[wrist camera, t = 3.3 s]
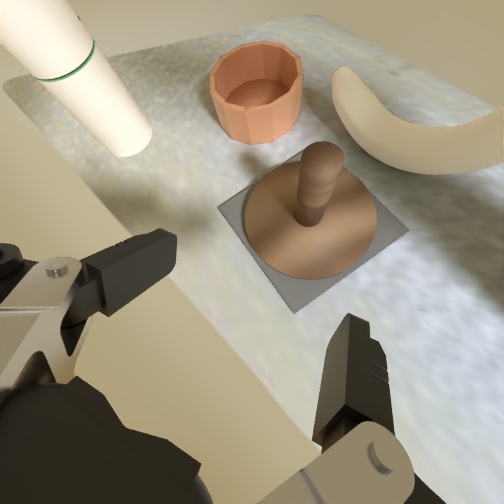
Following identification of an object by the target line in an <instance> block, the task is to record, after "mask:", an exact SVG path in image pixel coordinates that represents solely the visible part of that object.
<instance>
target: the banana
mask: <svg viewBox="0 0 504 504" xmlns="http://www.w3.org/2000/svg"><path fill="white" fill-rule="evenodd" d="M331 91H332V98H333V102H334V106H335V108H336V111H337V113H338V115H339V117H340V119H341V121H342V123H343V124H344V126H345V128H346V129H347V131H348V132H349V134H350V135H351V136H352V138H353V139H354V140H355V141H356V142H357V144H358V145H359V146H360V147H361V148H362V149H364V150H365V151H366V152H367V153H368V154H370V155H371V156H373V157H374V158H376V159H378V160H379V161H381V162H383V163H385V164H387V165H389V166H392V167H394V168H397V169H400V170H404V171H408V172H413V173H420V174H428V175H438V174H451V175H452V174H461V173H467V172H473V171H477V170H481V169H485V168H488V167H491V166H494V165H498V164H500V163H502V162H504V105H503V106H501V107H500V108H498V109H497V110H495V111H493V112H492V113H490V114H488V115H486V116H484V117H482V118H480V119H478V120H476V121H473V122H471V123H468V124H464V125H460V126H454V127H444V128H438V127H427V126H421V125H417V124H413V123H410V122H407V121H404V120H402V119H400V118H398V117H396V116H395V115H393V114H392V113H390V112H389V111H388V110H387V109H385V108H384V107H383V105H382V103H381V102H380V100H379V99H378V98H377V97H376V96H375V95H374V94H373V93H372V92H371V90H370V89H369V88H368V87H367V86H366V85H365V84H364V83H363V82H362V81H361V80H360V78H359V77H358V76H357V75H356V74H355V73H353V72H352V71H351V70H350V69H349V68H347V67H345V65H344V66H342V67H340V68H338V69H337V70H336V72H335V73H334V74H333V78H332V84H331Z"/></svg>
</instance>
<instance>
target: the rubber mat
mask: <svg viewBox="0 0 504 504" xmlns="http://www.w3.org/2000/svg"><path fill="white" fill-rule="evenodd" d="M302 153H303V152H301V153H300V154H298V155H297V156H295V157H294V158H292V159H291V160H289V161H288V162H286V163H285V164H283V165H286V164H289V163H292V162H297V161H301V156H302ZM283 165H282V166H283ZM280 167H281V166H280ZM342 168H344V169H346V168H345V167H344V166H342ZM346 170H347V169H346ZM347 171H348V170H347ZM262 179H263V178H262ZM262 179H261V180H262ZM261 180H259V181H258V182H256V183H255V184H253V185H252V186H250V187H249V188H247V189H246V190H244V191H243V192H241V193H240V194H238V195H237V196H235V197H234V198H232V199H231V200H229V201H228V202H226V203H225V204H223V205H222V206H220V207H219V210H220V211H221V213H222V214H223V215H224V217H225V218H226V220H227V221H228V222H229V224H230V225H231V227H232V228H233V229H234V231H235V232H236V234H237V235H238V236H239V238H240V239H241V241H242V242H243V243H244V245H245V246H246V247H247V249H248V250H249V252H250V253H251V254H252V256H253V257H254V259H255V260H256V261H257V263H258V264H259V266H260V267H261V268H262V270H263V271H264V273H265V274H266V275H267V277H268V278H269V280H270V281H271V282H272V284H273V285H274V286H275V288H276V289H277V291H278V292H279V293H280V295H281V296H282V298H283V299H284V300H285V302H286V303H287V305H288V306H289V307H290V309H291V310H292V312H293V313H294V314H295V313H296V312H298V311H299V310H300V309H302V308H303V307H304V306H306V305H307V304H309V303H310V302H311V301H313V300H314V299H316V298H317V297H318V296H320V295H321V294H322V293H324V292H325V291H327V290H328V289H329V288H331V287H332V286H334V285H335V284H336V283H338V282H339V281H340V280H342V279H343V278H345V277H346V276H347V275H349V274H350V273H352V272H353V271H354V270H356V269H357V268H358V267H360V266H361V265H363V264H364V263H365V262H367V261H368V260H369V259H371V258H372V257H374V256H375V255H376V254H378V253H379V252H381V251H382V250H383V249H385V248H386V247H387V246H389V245H390V244H392V243H393V242H394V241H396V240H397V239H399V238H400V237H401V236H403V235H404V234H405V233H407V232H408V231H410V230H409V229H408V228H407V227H406V226H405V225H404V224H403V223H402V222H400V221H399V220H398V219H397V218H396V217H395V216H394V215H393V214H392V213H391V212H390V211H389V210H388V209H387V208H386V207H385V206H384V205H383V204H382V203H381V202H380V201H379V200H378V199H377V198H376V197H375V196H374V195H373V194H372V193H371V192H369V193H370V195H371V197H372V199H373V201H374V204H375V208H376V214H377V225H376V232H375V235H374V239H373V241H372V243H371V245H370V247H369V248H368V250H367V251H366V253H365V254H364V255H363V256H362V257H361V258H360V260H358V261H357V262H356V263H355V264H354V265H352V266H351V267H350V268H348V269H347V270H345V271H343V272H341V273H339V274H337V275H335V276H331V277H328V278H323V279H316V280H306V279H298V278H293V277H290V276H287V275H284V274H282V273H280V272H278V271H276V270H274V269H273V268H271V267H270V266H268V265H267V264H266V263H265V262H264V261H263V260H262V259H261V258H260V257H259V256H258V254H257V253H256V252H255V250H254V248H253V247H252V245H251V242H250V240H249V238H248V235H247V231H246V226H245V211H246V206H247V202H248V199H249V197H250V195H251V193H252V191H253V190H254V188H255V187H256V185H257V184H258V183H259V182H260V181H261Z"/></svg>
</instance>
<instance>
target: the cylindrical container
mask: <svg viewBox="0 0 504 504" xmlns="http://www.w3.org/2000/svg"><path fill="white" fill-rule="evenodd" d="M0 44H1V45H2V46H3V47H4V48H5V49H6V50H7V51H8V52H9V53H10V54H11V55H12V56H13V57H14V58H15V59H16V60H17V61H18V62H19V63H20V64H21V65H22V66H23V67H24V68H25V69H26V70H27V71H28V72H29V73H30V74H31V75H32V76H33V77H34V78H35V79H36V80H37V81H38V82H39V83H40V84H41V85H42V86H43V87H44V88H45V89H46V90H47V91H48V92H49V93H50V94H51V95H53V96H54V97H55V98H56V99H57V100H58V101H59V102H60V103H61V104H62V105H63V106H64V107H65V108H66V109H67V110H68V111H69V112H70V113H71V114H72V115H73V116H74V117H75V118H76V119H77V120H78V121H79V122H80V123H81V124H82V125H83V126H84V127H85V128H86V129H87V130H88V131H89V132H90V133H91V134H92V135H93V136H94V137H95V138H96V139H97V140H98V141H99V142H100V143H101V144H102V145H103V146H104V147H105V148H106V149H107V150H108V151H109V152H110V153H112V154H113V155H115V156H119V157H127V156H131V155H134V154H136V153H138V152H140V151H141V150H142V149H143V148H144V147H146V145H147V144H148V143H149V141H150V139H151V136H152V127H151V125H150V123H149V122H148V120H147V119H146V117H145V116H144V114H143V113H142V111H141V110H140V108H139V107H138V105H137V104H136V102H135V101H134V99H133V98H132V96H131V95H130V93H129V92H128V90H127V89H126V87H125V86H124V84H123V83H122V81H121V80H120V78H119V77H118V75H117V74H116V72H115V71H114V69H113V68H112V66H111V65H110V63H109V62H108V60H107V59H106V57H105V56H104V54H103V53H102V51H101V50H100V48H99V47H98V45H97V44H96V42H95V41H94V39H93V38H92V36H91V35H90V33H89V32H88V30H87V29H86V27H85V26H84V24H83V23H82V21H81V20H80V18H79V17H78V16H77V14H76V12H75V11H74V9H73V8H72V6H71V5H70V3H69V2H68V0H0Z"/></svg>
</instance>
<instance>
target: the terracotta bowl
mask: <svg viewBox="0 0 504 504" xmlns="http://www.w3.org/2000/svg"><path fill="white" fill-rule="evenodd" d="M303 76H304V75H303V70H302V65H301V59H300V57H299V56H298V55H297V54H296V53H295V52H293V51H292V50H291V49H290V48H288V47H287V46H286V45H284V44H279V43H274V42H268V41H258V42H253V43H248V44H243V45H239V46H238V47H236V48H234V49H233V50H231V51H230V52H228V53H226V54H225V55H223V56H221V57H220V59H219V60H218V62H217V63H216V65H215V66H214V68H213V69H212V71H211V72H210V93H211V97H212V100H213V103H214V106H215V109H216V113H217V116H218V119H219V122H220V126H221V127H222V128H223V129H224V130H225V131H226V133H227V134H228V135H229V136H230V137H231V138H232V139H234V140H237V141H240V142H244V143H247V144H250V145H253V144H260V143H267V142H273V141H275V140H276V139H278V138H279V137H281V136H282V135H284V134H285V133H287V132H289V131H290V130H292V128H293V126H294V124H295V122H296V120H297V118H298V116H299V114H300V110H301V98H302V87H303Z"/></svg>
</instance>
